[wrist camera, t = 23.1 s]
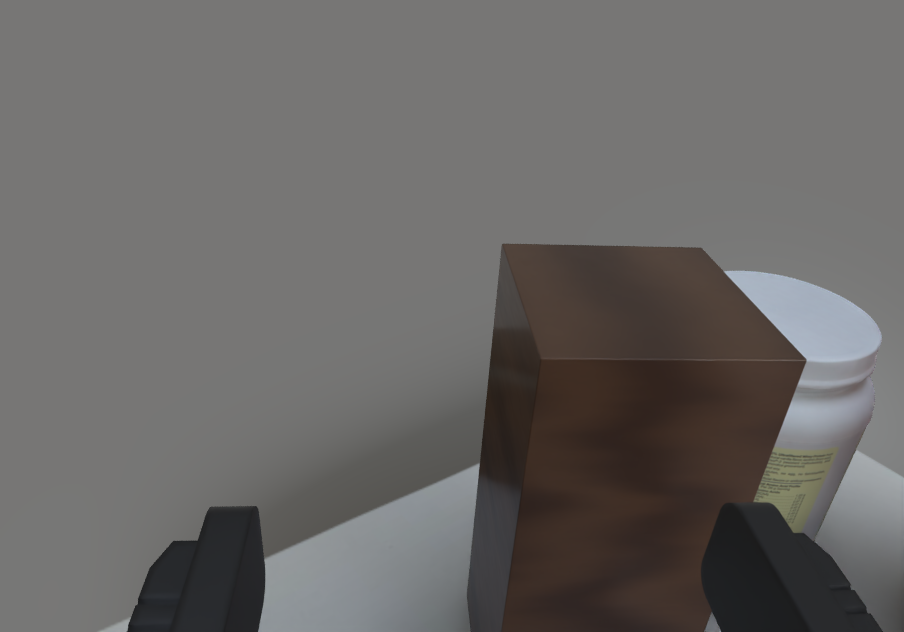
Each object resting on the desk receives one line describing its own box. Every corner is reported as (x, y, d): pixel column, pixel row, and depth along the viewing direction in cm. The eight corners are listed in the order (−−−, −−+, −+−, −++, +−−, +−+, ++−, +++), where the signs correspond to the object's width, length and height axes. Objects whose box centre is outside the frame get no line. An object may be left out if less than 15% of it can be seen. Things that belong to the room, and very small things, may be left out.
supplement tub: (686, 442, 54) (743, 247, 46) (838, 540, 46) (941, 326, 38) (581, 506, 47) (625, 293, 39) (737, 636, 39) (837, 401, 31)
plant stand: (483, 751, 33) (540, 358, 22) (466, 594, 41) (501, 243, 29) (662, 743, 34) (808, 359, 22) (612, 590, 42) (701, 247, 30)
